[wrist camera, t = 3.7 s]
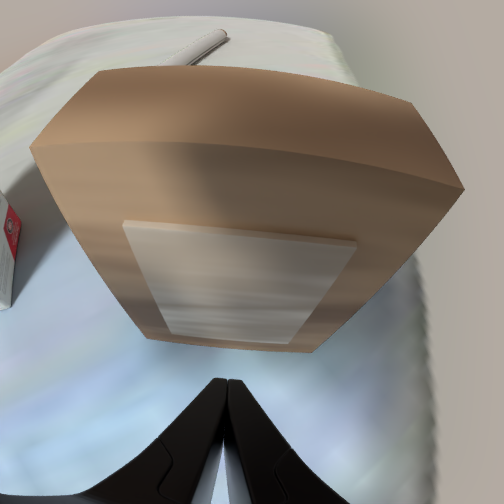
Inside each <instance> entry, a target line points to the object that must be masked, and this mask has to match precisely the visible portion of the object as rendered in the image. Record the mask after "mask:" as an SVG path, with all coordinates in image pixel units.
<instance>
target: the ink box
mask: <svg viewBox="0 0 504 504" xmlns="http://www.w3.org/2000/svg"><path fill="white" fill-rule="evenodd" d="M20 227H21V220H20V219H19V218H18V216H17V215H16V213H15V212H14V210H13V209H12V208H11V206H10V205H9V203H8V202H7V200H6V198H5V197H4V195H3V194H2V192H1V191H0V310H4V309H8V308H10V306H11V295H12V282H13V272H14V264H15V256H16V250H17V243H18V237H19V233H20Z"/></svg>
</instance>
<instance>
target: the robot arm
mask: <svg viewBox="0 0 504 504" xmlns="http://www.w3.org/2000/svg"><path fill="white" fill-rule="evenodd" d="M227 383H228V384H227ZM224 427H225V428H224ZM223 441H224V456H225V466H226V476H227V485H228V493H229V502H230V504H350V503H348V502H347V501H346V500H345V499H344V498H342V497H341V496H340V495H339V494H337V493H336V492H335V491H334V490H333V489H332V488H330V487H329V486H328V485H327V484H326V483H325V482H323V481H322V480H321V479H320V478H319V477H318V476H317V475H316V474H315V473H314V472H313V471H312V470H311V469H310V468H309V467H308V466H307V465H306V464H305V463H304V462H303V460H302V459H301V458H300V457H299V456H298V455H297V453H296V452H295V451H294V449H292V448H291V446H290V445H289V443H288V442H287V441H286V439H285V438H284V437H283V436H282V434H281V433H280V432H279V430H278V429H277V428H276V426H275V425H274V424H273V423H272V421H271V420H270V419H269V417H268V416H267V414H266V413H265V412H264V410H263V409H262V408H261V406H260V405H259V404H258V402H257V401H256V399H255V398H254V397H253V395H252V394H251V392H250V391H249V390H248V388H247V387H246V385H245V384H244V383H243V381H242V380H236V379H229V380H227V379H224V378H213V379H212V380H211V381H210V383H209V384H208V385H207V386H206V387H205V388H204V389H203V390H202V391H201V392H200V393H199V394H198V396H197V397H196V398H195V399H194V400H193V401H192V402H191V403H190V404H189V405H188V406H187V407H186V408H185V409H184V410H183V411H182V412H181V414H180V415H179V416H178V417H177V418H176V419H175V420H174V421H173V422H172V423H171V424H170V425H169V426H168V427H167V428H166V429H165V430H164V431H163V432H162V433H161V434H160V435H159V436H158V438H156V439H155V440H154V441H153V442H152V443H151V444H150V445H149V446H148V447H147V448H146V449H145V450H143V451H142V452H141V453H140V454H139V455H138V456H137V457H135V458H134V459H133V460H131V461H130V462H129V463H127V464H126V465H125V466H123V467H122V468H120V469H119V470H117V471H116V472H114V473H113V474H111V475H110V476H108V477H107V478H105V479H104V480H102V481H101V482H99V483H98V484H96V485H95V486H93V487H91V488H90V489H88V490H86V491H83V492H80V493H77V494H73V495H61V496H19V495H7V494H1V493H0V504H211V499H212V495H213V490H214V486H215V481H216V477H217V472H218V467H219V463H220V458H221V454H222V448H223Z"/></svg>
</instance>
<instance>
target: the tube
mask: <svg viewBox="0 0 504 504" xmlns="http://www.w3.org/2000/svg"><path fill="white" fill-rule="evenodd" d="M226 36H227V33H226V32H225V31H224V30H221V29H217V30H214V31H213V32H211V33H209V34H207V35H205V36H204V37H202V38H200V39H198V40H197V41H195V42H193V43H192V44H190V45H188V46H187V47H185V48H183V49H182V50H180V51H179V52H177V53H175V54H174V55H172V56H171V57H169V58H168V59H166V60H165V61H163V62H162V63H160V64H159V65H157V66H172V65H191V64H193V63H194V62H195V61H197V60H198V59H199V58H201V57H202V56H203V55H205V54H206V53H208V52H209V51H210V50H212V49H213V48H215V47H216V46H218V45H219V44H221V43H222V42H224V41H225V39H226Z"/></svg>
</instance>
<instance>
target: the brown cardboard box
mask: <svg viewBox="0 0 504 504" xmlns="http://www.w3.org/2000/svg"><path fill="white" fill-rule="evenodd" d="M29 148H30V150H31V153H32V155H33V157H34V159H35V162H36V164H37V166H38V168H39V170H40V172H41V174H42V176H43V178H44V180H45V182H46V184H47V186H48V188H49V190H50V192H51V194H52V196H53V198H54V200H55V202H56V204H57V205H58V207H59V209H60V211H61V213H62V215H63V216H64V218H65V220H66V222H67V223H68V225H69V227H70V229H71V230H72V232H73V234H74V235H75V237H76V239H77V240H78V242H79V244H80V245H81V247H82V248H83V250H84V252H85V253H86V255H87V256H88V258H89V259H90V261H91V263H92V264H93V266H94V267H95V269H96V270H97V272H98V273H99V275H100V276H101V278H102V279H103V281H104V282H105V283H106V285H107V286H108V288H109V289H110V291H111V292H112V293H113V295H114V296H115V298H116V299H117V300H118V302H119V303H120V304H121V306H122V307H123V309H124V310H125V311H126V313H127V314H128V315H129V317H130V318H131V319H132V320H133V322H134V323H135V324H136V326H137V327H138V328H139V329H140V331H141V332H142V333H143V334H144V336H145V337H146V338H147V339H153V340H160V341H167V342H175V343H183V344H191V345H200V346H209V347H219V348H231V349H243V350H258V351H276V352H302V353H312V352H313V351H314V350H315V349H316V348H318V347H319V346H320V345H321V344H322V343H323V342H324V341H326V340H327V339H328V338H329V337H330V336H331V335H332V334H333V333H335V332H336V331H337V330H338V329H339V328H340V327H341V326H342V325H343V324H344V323H345V322H346V321H348V320H349V319H350V318H351V317H352V316H353V315H354V314H355V313H356V312H357V311H358V310H359V309H360V308H361V307H362V306H363V305H364V304H365V303H366V302H367V301H368V300H369V299H370V298H371V297H372V296H373V295H374V294H375V293H376V292H377V291H378V290H379V289H380V288H381V287H382V286H383V285H384V284H385V283H386V282H387V281H388V280H389V279H390V278H391V277H392V276H393V275H394V274H395V273H396V271H397V270H398V269H399V268H400V267H401V266H402V265H403V264H404V263H405V262H406V261H407V259H408V258H409V257H410V256H411V255H412V254H413V253H414V252H415V251H416V249H417V248H418V247H419V246H420V245H421V244H422V243H423V241H424V240H425V239H426V238H427V237H428V235H429V234H430V233H431V232H432V231H433V230H434V228H435V227H436V226H437V225H438V223H439V222H440V221H441V220H442V218H443V217H444V216H445V215H446V214H447V212H448V211H449V209H450V208H451V207H452V206H453V205H454V203H455V202H456V201H457V199H458V198H459V197H460V195H461V194H462V193H463V191H464V190H465V189H464V187H463V185H462V183H461V182H460V180H459V178H458V176H457V174H456V172H455V170H454V168H453V167H452V165H451V163H450V162H449V160H448V158H447V156H446V155H445V153H444V151H443V150H442V148H441V146H440V145H439V143H438V141H437V140H436V138H435V137H434V135H433V134H432V132H431V131H430V129H429V127H428V126H427V124H426V123H425V122H424V120H423V119H422V117H421V116H420V114H419V113H418V112H417V110H416V109H415V108H414V106H413V105H412V103H410V102H406V101H404V100H401V99H398V98H395V97H392V96H388V95H385V94H382V93H378V92H375V91H371V90H367V89H364V88H360V87H356V86H352V85H348V84H344V83H339V82H335V81H330V80H326V79H321V78H315V77H310V76H304V75H298V74H292V73H285V72H278V71H270V70H262V69H252V68H240V67H226V66H201V65H172V66H147V67H133V68H121V69H112V70H104V71H99V72H98V73H96V74H95V75H94V76H93V77H92V78H91V79H90V80H89V81H88V82H87V83H86V84H85V85H84V86H83V87H82V88H81V89H80V90H79V91H78V92H77V93H76V94H75V95H74V96H73V97H72V98H71V99H70V100H69V101H68V102H67V103H66V104H65V105H64V106H63V107H62V109H61V110H60V111H59V112H58V113H57V114H56V115H55V116H54V117H53V119H52V120H51V121H50V122H49V123H48V124H47V126H46V127H45V128H44V129H43V130H42V132H41V133H40V134H39V135H38V137H37V138H36V139H35V140H34V142H33V143H32V144H31V146H30V147H29Z"/></svg>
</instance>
